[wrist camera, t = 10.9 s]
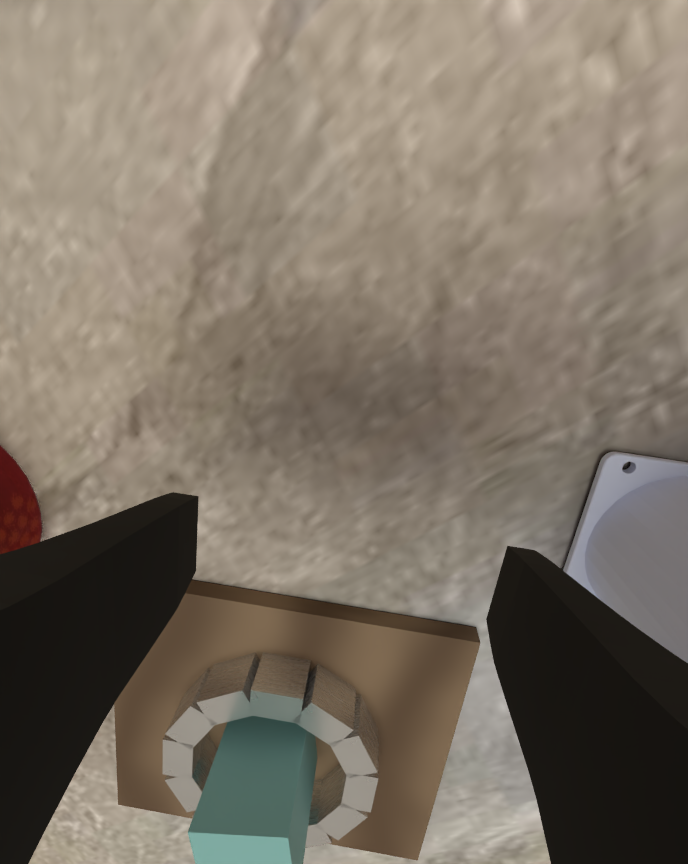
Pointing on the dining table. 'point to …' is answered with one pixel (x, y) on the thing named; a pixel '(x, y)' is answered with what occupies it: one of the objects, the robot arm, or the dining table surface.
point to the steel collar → (286, 701)
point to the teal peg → (256, 795)
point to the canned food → (17, 507)
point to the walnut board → (322, 644)
